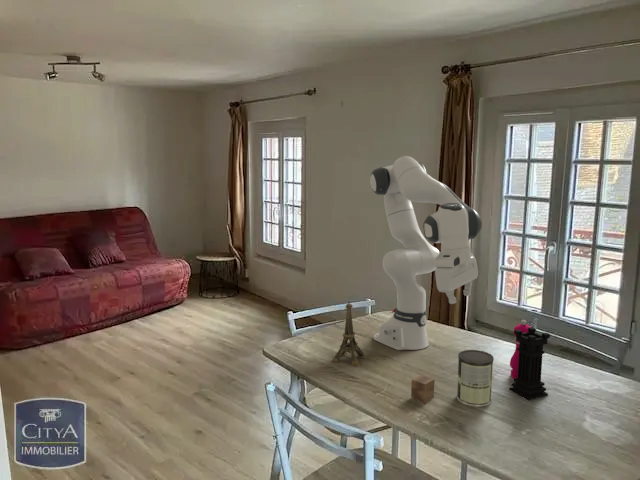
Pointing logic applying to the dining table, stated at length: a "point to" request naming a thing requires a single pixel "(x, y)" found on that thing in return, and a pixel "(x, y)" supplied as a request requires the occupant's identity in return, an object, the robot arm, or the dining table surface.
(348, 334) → the eiffel tower
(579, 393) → the dining table surface
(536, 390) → the chess piece
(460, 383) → the coffee can
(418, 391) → the walnut block
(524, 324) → the pepper mill
